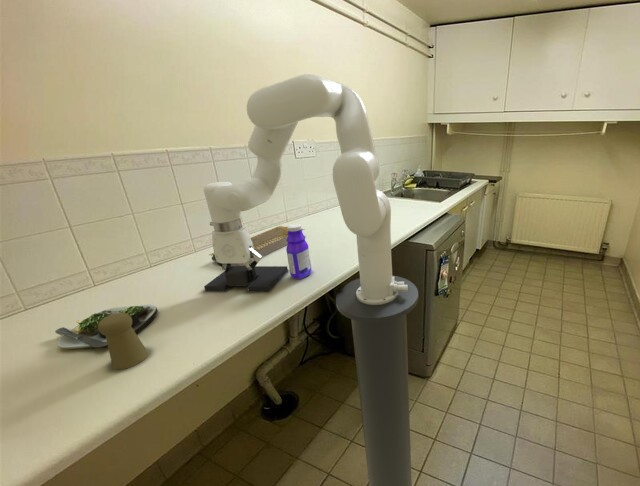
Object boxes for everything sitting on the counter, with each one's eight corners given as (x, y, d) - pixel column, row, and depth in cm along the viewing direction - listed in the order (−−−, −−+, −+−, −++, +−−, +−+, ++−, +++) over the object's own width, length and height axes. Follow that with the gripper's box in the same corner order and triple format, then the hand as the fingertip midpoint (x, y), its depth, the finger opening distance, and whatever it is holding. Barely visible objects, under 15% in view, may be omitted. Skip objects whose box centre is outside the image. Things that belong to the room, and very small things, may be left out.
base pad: (288, 270, 107) (287, 266, 107) (268, 291, 94) (267, 286, 94) (232, 270, 108) (231, 266, 108) (205, 291, 95) (204, 286, 95)
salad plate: (25, 359, 69) (14, 342, 67) (93, 313, 85) (86, 298, 84) (118, 352, 70) (111, 335, 69) (167, 308, 87) (162, 293, 85)
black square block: (256, 276, 100) (254, 265, 98) (246, 285, 94) (243, 274, 93) (238, 276, 100) (236, 265, 99) (227, 285, 95) (224, 274, 93)
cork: (151, 346, 72) (134, 305, 68) (145, 363, 67) (127, 320, 63) (117, 355, 69) (98, 313, 65) (108, 373, 64) (87, 329, 60)
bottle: (301, 269, 108) (293, 221, 102) (315, 271, 106) (308, 223, 100) (287, 278, 102) (278, 228, 95) (302, 281, 100) (293, 230, 94)
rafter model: (239, 269, 109) (235, 253, 107) (211, 263, 114) (206, 248, 112) (305, 236, 139) (303, 223, 137) (281, 233, 144) (278, 220, 142)
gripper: (191, 229, 88) (208, 285, 94) (250, 229, 87) (263, 285, 93) (208, 221, 95) (223, 274, 101) (263, 220, 94) (274, 274, 100)
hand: (242, 279), depth 97 cm, fingers closed on black square block, 6 cm apart
